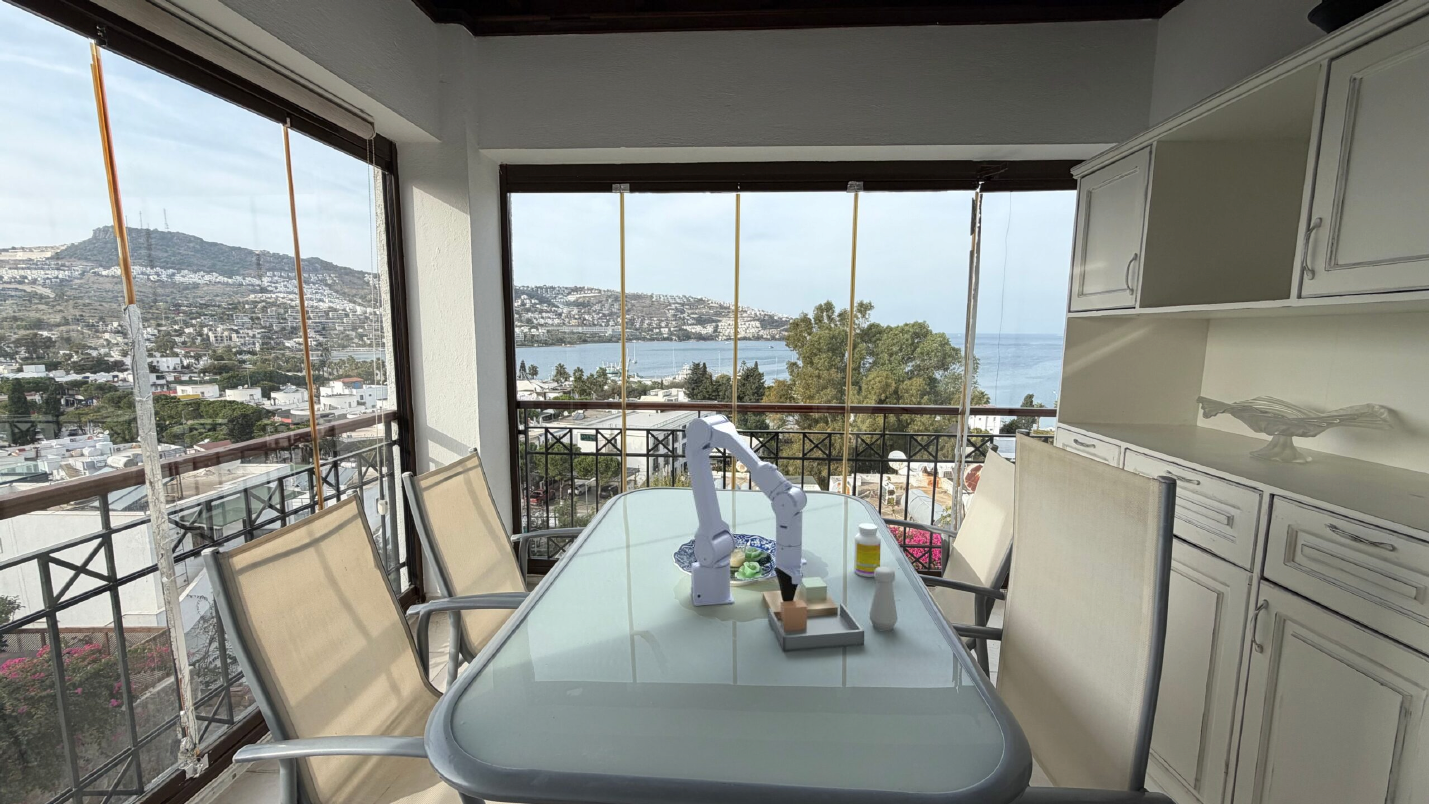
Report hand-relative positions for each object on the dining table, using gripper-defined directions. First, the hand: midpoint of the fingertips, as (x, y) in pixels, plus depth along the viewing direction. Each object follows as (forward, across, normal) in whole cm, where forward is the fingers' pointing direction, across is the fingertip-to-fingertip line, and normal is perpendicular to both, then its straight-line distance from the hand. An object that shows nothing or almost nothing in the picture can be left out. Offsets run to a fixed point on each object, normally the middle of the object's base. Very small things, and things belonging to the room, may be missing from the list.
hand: (787, 601), depth 123 cm
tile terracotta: (+1, -3, 0) cm, 3 cm away
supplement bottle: (+4, +21, -28) cm, 35 cm away
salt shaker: (+4, -6, -20) cm, 21 cm away
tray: (+4, -6, -4) cm, 9 cm away
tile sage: (+2, +7, -8) cm, 11 cm away
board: (+4, +5, -4) cm, 8 cm away
